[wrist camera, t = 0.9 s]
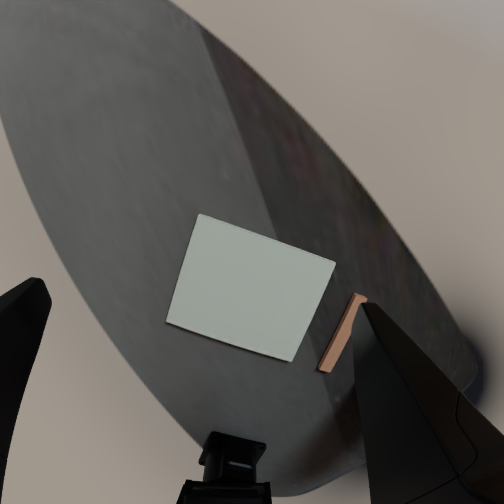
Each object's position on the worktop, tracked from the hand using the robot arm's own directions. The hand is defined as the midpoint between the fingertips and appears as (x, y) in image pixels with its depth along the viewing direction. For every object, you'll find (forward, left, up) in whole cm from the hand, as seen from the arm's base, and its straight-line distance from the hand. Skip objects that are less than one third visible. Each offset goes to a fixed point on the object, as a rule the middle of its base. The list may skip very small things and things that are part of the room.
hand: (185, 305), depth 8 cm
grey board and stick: (-5, -6, -18) cm, 20 cm away
